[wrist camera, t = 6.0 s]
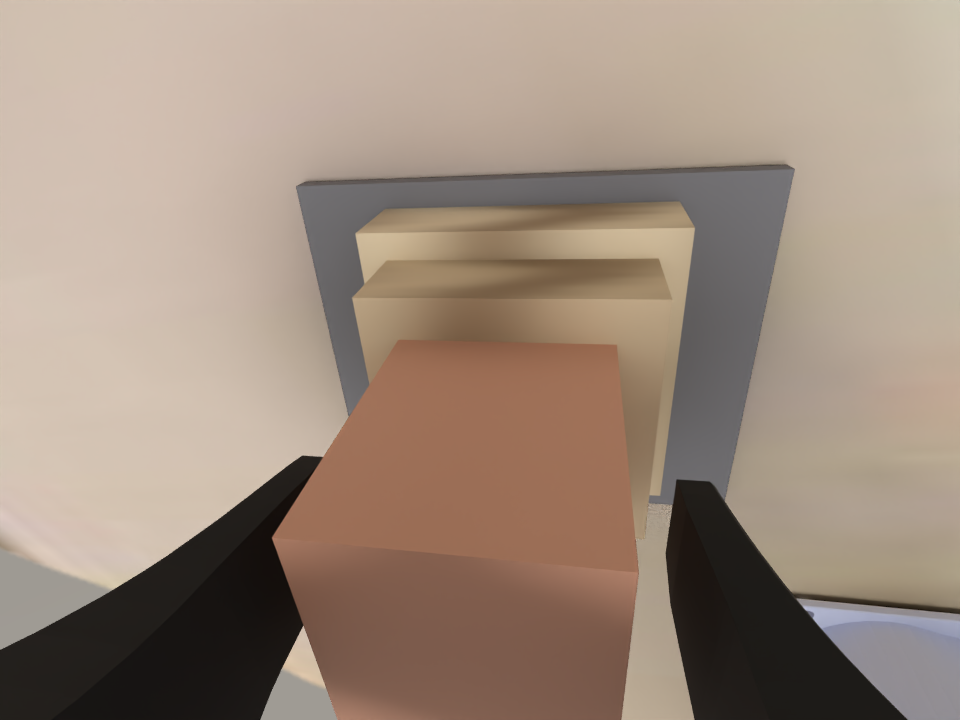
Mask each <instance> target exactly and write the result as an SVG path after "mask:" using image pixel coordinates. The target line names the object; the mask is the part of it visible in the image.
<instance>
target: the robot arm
mask: <svg viewBox="0 0 960 720" xmlns="http://www.w3.org/2000/svg"><path fill="white" fill-rule="evenodd" d="M322 458H323V457H315V456H301V457H300V458H298V459H297V460H295V461H294V462H293V463H291V464H290V465H288V466H287V467H286V468H285V469H283V470H282V471H281V472H279V473H278V474H277V475H275V476H274V477H273V478H272V479H270V480H269V481H268V482H266V483H265V484H264V485H263V486H261V487H260V488H259V489H257V490H256V491H255V492H254V493H252V494H251V495H250V496H248V497H247V498H246V499H244V500H243V501H242V502H241V503H239V504H238V505H237V506H235V507H234V508H233V509H231V510H230V511H229V512H227V513H226V514H225V515H224V516H222V517H221V518H220V519H218V520H217V521H216V522H214V523H213V524H211V525H210V526H209V527H207V528H206V529H204V530H203V531H202V532H200V533H199V534H197V535H196V536H194V537H193V538H192V539H190V540H189V541H187V542H186V543H185V544H183V545H182V546H180V547H179V548H178V549H176V550H175V551H173V552H172V553H171V554H169V555H168V556H166V557H165V558H163V559H162V560H160V561H159V562H157V563H156V564H154V565H152V566H151V567H149V568H148V569H146V570H145V571H143V572H142V573H140V574H138V575H137V576H135V577H133V578H132V579H130V580H129V581H127V582H125V583H124V584H122V585H120V586H119V587H117V588H115V589H114V590H112V591H110V592H109V593H107V594H105V595H104V596H102V597H100V598H98V599H97V600H95V601H93V602H91V603H89V604H87V605H86V606H84V607H82V608H80V609H79V610H77V611H75V612H73V613H71V614H69V615H67V616H65V617H64V618H62V619H60V620H58V621H56V622H55V623H53V624H51V625H49V626H47V627H45V628H43V629H41V630H39V631H38V632H36V633H34V634H32V635H30V636H27V637H26V638H24V639H21V640H20V641H17V642H15V643H13V644H11V645H9V646H8V647H5V648H3V649H1V650H0V720H260V719H261V716H262V714H263V711H264V708H265V706H266V704H267V701H268V698H269V696H270V693H271V691H272V689H273V686H274V684H275V682H276V680H277V678H278V676H279V673H280V671H281V669H282V667H283V665H284V663H285V661H286V659H287V657H288V655H289V653H290V651H291V649H292V647H293V645H294V643H295V641H296V639H297V637H298V635H299V633H300V631H301V629H302V627H303V622H302V620H301V617H300V614H299V611H298V608H297V606H296V603H295V600H294V597H293V595H292V592H291V589H290V586H289V584H288V581H287V578H286V575H285V573H284V570H283V567H282V564H281V562H280V559H279V556H278V553H277V550H276V548H275V545H274V542H273V539H272V537H273V535H274V534H275V532H276V531H277V529H278V527H279V526H280V524H281V523H282V521H283V520H284V518H285V516H286V515H287V513H288V512H289V510H290V509H291V507H292V505H293V504H294V502H295V501H296V499H297V498H298V496H299V494H300V493H301V491H302V490H303V488H304V487H305V485H306V484H307V482H308V480H309V479H310V477H311V476H312V474H313V473H314V471H315V469H316V468H317V466H318V465H319V463H320V462H321V460H322ZM666 562H667V573H668V584H669V594H670V603H671V609H672V614H673V619H674V624H675V629H676V633H677V638H678V643H679V648H680V653H681V657H682V662H683V667H684V672H685V676H686V681H687V686H688V690H689V695H690V700H691V705H692V709H693V714H694V719H695V720H960V614H953V613H943V612H932V611H922V610H912V609H901V608H891V607H881V606H870V605H860V604H850V603H840V602H829V601H819V600H809V599H798V598H795V597H794V595H793V594H792V593H791V592H790V590H789V589H788V588H787V587H786V586H785V584H784V583H783V582H782V580H781V579H780V578H779V576H778V575H777V574H776V573H775V571H774V570H773V569H772V567H771V566H770V565H769V563H768V562H767V561H766V559H765V558H764V557H763V556H762V554H761V553H760V552H759V550H758V549H757V547H756V546H755V545H754V543H753V542H752V541H751V539H750V538H749V536H748V535H747V533H746V532H745V531H744V529H743V528H742V526H741V525H740V523H739V522H738V521H737V519H736V518H735V516H734V515H733V513H732V512H731V510H730V509H729V507H728V506H727V504H726V503H725V501H724V499H723V498H722V496H721V495H720V493H719V492H718V490H717V488H716V487H715V486H714V485H713V484H712V483H711V482H710V481H696V480H680V479H677V480H676V487H675V493H674V500H673V507H672V514H671V520H670V527H669V534H668V541H667V547H666Z"/></svg>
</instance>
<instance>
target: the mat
mask: <svg viewBox="0 0 960 720" xmlns="http://www.w3.org/2000/svg"><path fill="white" fill-rule="evenodd" d="M794 170H795V169H793V168H792V167H790V166H788V165H768V166H740V167H712V168H684V169H656V170H628V171H600V172H572V173H544V174H516V175H488V176H460V177H432V178H404V179H376V180H348V181H320V182H304V183H302V184H300V185H298V186H296V189H297V193H298V198H299V202H300V206H301V211H302V215H303V219H304V224H305V228H306V232H307V237H308V241H309V245H310V250H311V254H312V259H313V263H314V267H315V272H316V276H317V280H318V285H319V289H320V293H321V298H322V302H323V306H324V311H325V315H326V319H327V324H328V328H329V333H330V337H331V341H332V346H333V350H334V354H335V359H336V363H337V367H338V372H339V376H340V380H341V385H342V389H343V393H344V398H345V402H346V407H347V411H348V415H349V416H350V415H351V413H352V411H353V410H354V408H355V407H356V405H357V404H358V402H359V401H360V399H361V397H362V396H363V394H364V393H365V391H366V390H367V388H368V386H369V380H368V375H367V370H366V365H365V360H364V355H363V350H362V345H361V340H360V335H359V330H358V325H357V320H356V315H355V310H354V305H353V300H352V297H353V296H354V295H355V294H356V293H357V292H358V291H359V290H360V289H361V288H362V287H363V285H364V278H363V273H362V267H361V262H360V256H359V251H358V246H357V240H356V235H355V233H356V232H358V231H359V230H360V229H361V228H363V227H364V226H365V225H366V224H367V223H369V222H370V221H371V220H372V219H374V218H375V217H376V216H377V215H378V214H380V213H381V212H382V211H383V210H385V209H399V208H439V207H478V206H518V205H557V204H596V203H636V202H675V201H680V203H681V204H682V206H683V208H684V210H685V211H686V213H687V215H688V216H689V218H690V220H691V222H692V223H693V225H694V227H695V232H694V240H693V247H692V255H691V263H690V270H689V278H688V286H687V293H686V301H685V309H684V316H683V324H682V332H681V339H680V347H679V355H678V362H677V370H676V378H675V385H674V393H673V401H672V408H671V416H670V424H669V431H668V439H667V447H666V454H665V462H664V470H663V477H662V485H661V493H660V496H655V495H649V503H655V504H669V505H673V500H674V493H675V487H676V480H677V479H680V480H696V481H710V482H711V483H712V484H713V485H714V486H715V487H716V488H717V490H718V492H719V493H720V495H721V496H722V498H723V499H724V501H725V497H726V492H727V487H728V482H729V478H730V473H731V468H732V463H733V459H734V454H735V449H736V445H737V440H738V435H739V430H740V426H741V421H742V416H743V411H744V407H745V402H746V397H747V392H748V388H749V383H750V378H751V373H752V369H753V364H754V359H755V354H756V350H757V345H758V340H759V336H760V331H761V326H762V321H763V317H764V312H765V307H766V302H767V298H768V293H769V288H770V283H771V279H772V274H773V269H774V264H775V260H776V255H777V250H778V246H779V241H780V236H781V231H782V227H783V222H784V217H785V212H786V208H787V203H788V198H789V193H790V189H791V184H792V179H793V174H794Z"/></svg>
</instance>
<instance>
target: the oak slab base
mask: <svg viewBox="0 0 960 720" xmlns="http://www.w3.org/2000/svg"><path fill="white" fill-rule="evenodd" d="M694 232H695V227H694V225H693V223H692V222H691V220H690V218H689V216H688V215H687V213H686V211H685V210H684V208H683V206H682V204H681V203H680V201H675V202H636V203H596V204H557V205H518V206H478V207H439V208H399V209H385V210H383V211H382V212H381V213H380V214H378V215H377V216H376V217H375V218H374V219H372V220H371V221H370V222H369V223H367V224H366V225H365V226H364V227H363V228H361V229H360V230H359V231H358V232H356V233H355V235H356V240H357V246H358V251H359V256H360V262H361V267H362V273H363V278H364V284H365V283H366V282H367V281H368V280H369V279H370V278H371V277H372V276H373V275H374V274H375V273H376V271H377V270H378V269H379V268H380V267H381V266H382V265H383V264H384V263H385V262H386V261H387V260H525V259H659V261H660V264H661V267H662V270H663V273H664V276H665V279H666V282H667V285H668V288H669V291H670V294H671V297H672V307H671V315H670V324H669V332H668V341H667V349H666V358H665V367H664V375H663V384H662V392H661V401H660V409H659V418H658V426H657V435H656V443H655V452H654V460H653V469H652V477H651V486H650V494H649V495H655V496H660V493H661V485H662V477H663V470H664V462H665V454H666V447H667V439H668V431H669V424H670V416H671V408H672V401H673V393H674V385H675V378H676V370H677V362H678V355H679V347H680V339H681V332H682V324H683V316H684V309H685V301H686V293H687V286H688V278H689V270H690V263H691V255H692V247H693V240H694Z"/></svg>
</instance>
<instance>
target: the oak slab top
mask: <svg viewBox="0 0 960 720" xmlns="http://www.w3.org/2000/svg"><path fill="white" fill-rule="evenodd" d="M352 300H353V305H354V310H355V315H356V320H357V325H358V330H359V335H360V340H361V345H362V350H363V355H364V360H365V365H366V370H367V375H368V380H369V385H370V383H371V382H372V380H373V379H374V377H375V375H376V374H377V372H378V371H379V369H380V368H381V366H382V365H383V363H384V361H385V360H386V358H387V357H388V355H389V354H390V352H391V350H392V349H393V347H394V346H395V344H396V343H397V341H398V340H434V341H477V342H521V343H565V344H608V345H617V352H618V363H619V373H620V383H621V394H622V404H623V414H624V425H625V435H626V446H627V456H628V466H629V477H630V487H631V498H632V508H633V518H634V529H635V538H637V539H644V537H645V529H646V520H647V512H648V503H649V494H650V486H651V477H652V469H653V460H654V452H655V443H656V435H657V426H658V418H659V409H660V401H661V392H662V384H663V375H664V367H665V358H666V349H667V341H668V332H669V324H670V315H671V307H672V297H671V294H670V291H669V288H668V285H667V282H666V279H665V276H664V273H663V270H662V267H661V264H660V261H659V259H525V260H387V261H386V262H385V263H384V264H383V265H382V266H381V267H380V268H379V269H378V270H377V271H376V273H375V274H374V275H373V276H372V277H371V278H370V279H369V280H368V281H367V282H366V283H365V284H364V285H363V287H362V288H361V289H360V290H359V291H358V292H357V293H356V294H355V295H354V296H353V297H352Z"/></svg>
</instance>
